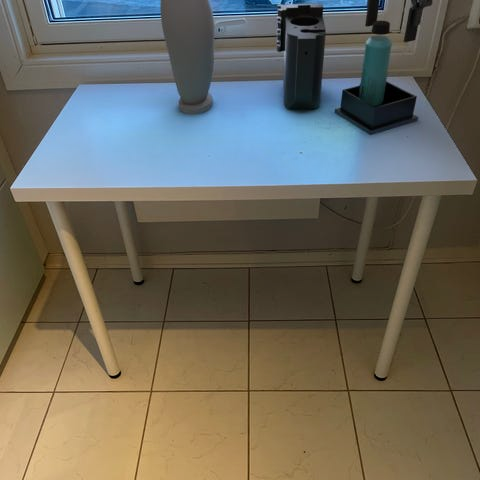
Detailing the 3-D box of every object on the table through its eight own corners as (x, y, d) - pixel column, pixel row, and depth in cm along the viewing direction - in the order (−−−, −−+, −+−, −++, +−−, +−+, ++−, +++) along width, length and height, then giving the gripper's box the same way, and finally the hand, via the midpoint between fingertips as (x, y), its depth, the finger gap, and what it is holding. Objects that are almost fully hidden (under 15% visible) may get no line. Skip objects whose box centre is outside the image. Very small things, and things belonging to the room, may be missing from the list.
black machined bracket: (316, 83, 150) (323, -4, 135) (321, 114, 136) (328, 21, 120) (275, 84, 151) (277, -3, 135) (275, 115, 136) (277, 22, 121)
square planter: (417, 120, 132) (422, 97, 128) (370, 135, 127) (374, 110, 123) (379, 100, 141) (383, 77, 137) (334, 112, 137) (336, 89, 132)
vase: (215, 116, 137) (205, -44, 112) (166, 115, 138) (146, -43, 113) (221, 95, 146) (213, -56, 121) (175, 95, 147) (159, -55, 122)
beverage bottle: (387, 108, 134) (402, 22, 120) (368, 115, 132) (382, 28, 118) (369, 99, 138) (382, 15, 124) (351, 106, 136) (361, 21, 122)
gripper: (354, -88, 112) (343, 22, 127) (437, -73, 96) (413, 51, 111) (382, -92, 114) (368, 17, 129) (467, -77, 98) (440, 44, 113)
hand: (389, 33), depth 120 cm, fingers open, 13 cm apart
